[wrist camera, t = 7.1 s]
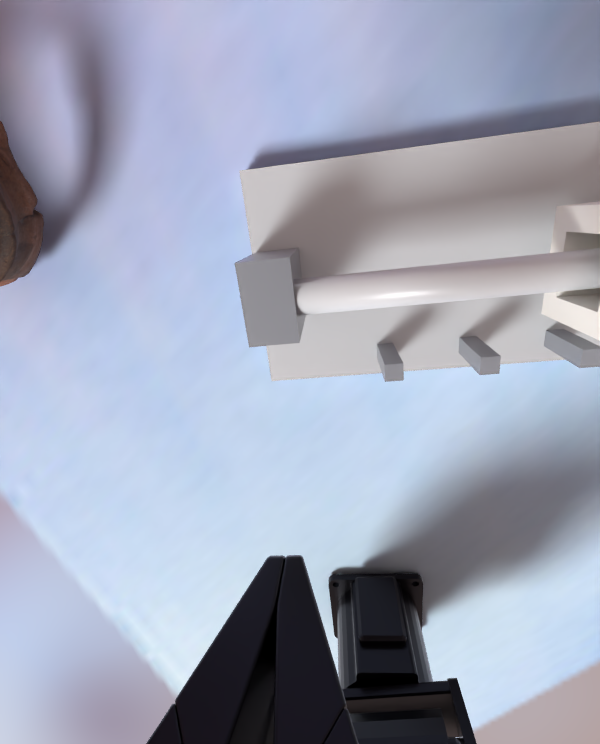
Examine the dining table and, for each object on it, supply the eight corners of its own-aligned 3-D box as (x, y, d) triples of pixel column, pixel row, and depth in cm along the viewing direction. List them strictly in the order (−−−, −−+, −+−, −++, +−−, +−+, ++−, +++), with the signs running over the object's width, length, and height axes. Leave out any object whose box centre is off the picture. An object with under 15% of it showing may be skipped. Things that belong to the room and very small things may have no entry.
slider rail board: (274, 373, 21) (249, 445, 14) (244, 173, 17) (192, 147, 10) (710, 340, 18) (917, 408, 12) (790, 98, 14) (1161, 5, 8)
